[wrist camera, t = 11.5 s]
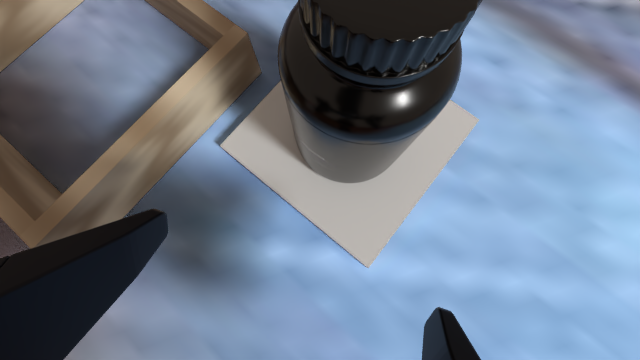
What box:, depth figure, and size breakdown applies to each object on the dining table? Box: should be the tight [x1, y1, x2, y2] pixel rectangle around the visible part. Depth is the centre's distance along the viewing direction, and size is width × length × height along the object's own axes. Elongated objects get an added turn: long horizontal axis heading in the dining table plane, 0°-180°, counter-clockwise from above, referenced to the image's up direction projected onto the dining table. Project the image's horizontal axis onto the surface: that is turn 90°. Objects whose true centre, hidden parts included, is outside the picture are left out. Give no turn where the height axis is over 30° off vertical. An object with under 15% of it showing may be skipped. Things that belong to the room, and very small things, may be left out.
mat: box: [220, 81, 479, 268], centre depth 19 cm, size 12×12×1 cm
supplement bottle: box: [278, 0, 482, 183], centre depth 13 cm, size 7×7×12 cm
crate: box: [0, 0, 262, 248], centre depth 19 cm, size 16×16×4 cm
